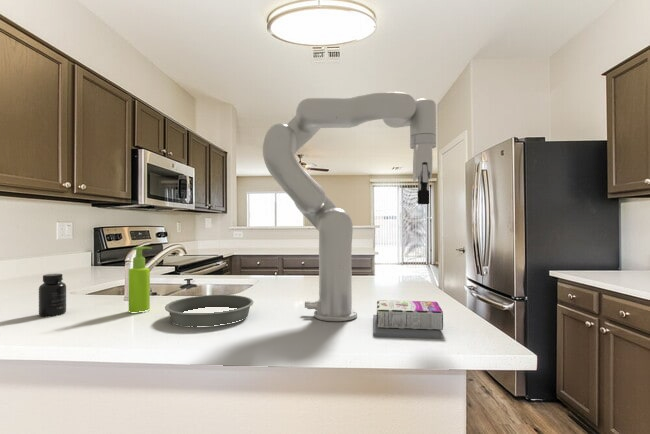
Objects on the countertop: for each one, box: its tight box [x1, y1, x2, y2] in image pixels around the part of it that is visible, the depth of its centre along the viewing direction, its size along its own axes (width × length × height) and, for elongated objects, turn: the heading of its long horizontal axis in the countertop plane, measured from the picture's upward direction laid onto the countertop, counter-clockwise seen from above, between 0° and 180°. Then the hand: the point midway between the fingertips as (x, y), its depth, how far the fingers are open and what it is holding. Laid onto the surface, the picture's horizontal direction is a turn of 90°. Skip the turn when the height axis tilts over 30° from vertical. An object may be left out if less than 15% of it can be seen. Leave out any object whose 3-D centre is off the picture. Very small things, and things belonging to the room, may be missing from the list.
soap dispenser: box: [128, 246, 153, 312], centre depth 120 cm, size 6×7×20 cm
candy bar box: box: [376, 299, 444, 331], centre depth 101 cm, size 11×5×16 cm
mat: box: [372, 314, 443, 339], centre depth 101 cm, size 16×18×1 cm
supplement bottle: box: [38, 273, 67, 318], centre depth 116 cm, size 7×7×12 cm
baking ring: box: [164, 294, 254, 328], centre depth 112 cm, size 25×25×4 cm
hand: (423, 204), depth 114 cm, fingers closed
